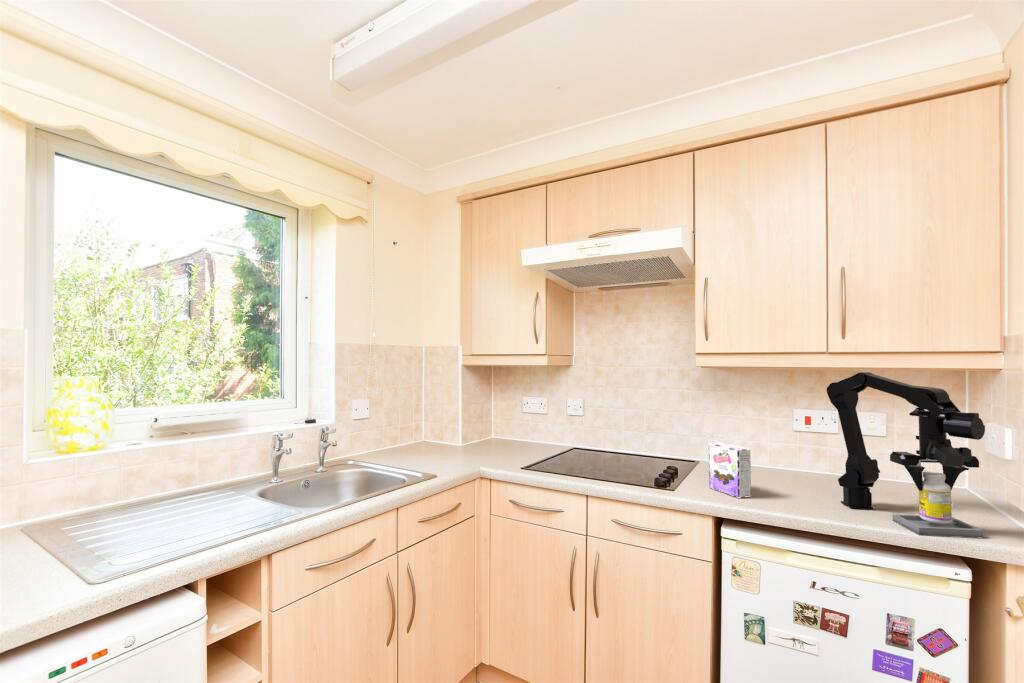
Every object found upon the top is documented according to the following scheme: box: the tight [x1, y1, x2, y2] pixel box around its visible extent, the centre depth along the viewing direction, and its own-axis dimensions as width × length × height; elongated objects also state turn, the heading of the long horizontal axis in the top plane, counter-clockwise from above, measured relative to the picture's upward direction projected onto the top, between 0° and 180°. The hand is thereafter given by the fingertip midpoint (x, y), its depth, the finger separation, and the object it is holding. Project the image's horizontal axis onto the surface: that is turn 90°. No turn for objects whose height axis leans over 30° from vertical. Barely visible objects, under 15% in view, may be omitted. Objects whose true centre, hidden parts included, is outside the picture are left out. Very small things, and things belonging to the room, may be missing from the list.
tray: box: [892, 513, 984, 539], centre depth 131 cm, size 15×11×2 cm
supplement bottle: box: [918, 470, 953, 524], centre depth 131 cm, size 7×7×13 cm
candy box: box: [708, 441, 752, 498], centre depth 167 cm, size 14×6×16 cm, turn 20°
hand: (934, 490), depth 131 cm, fingers closed on supplement bottle, 6 cm apart
